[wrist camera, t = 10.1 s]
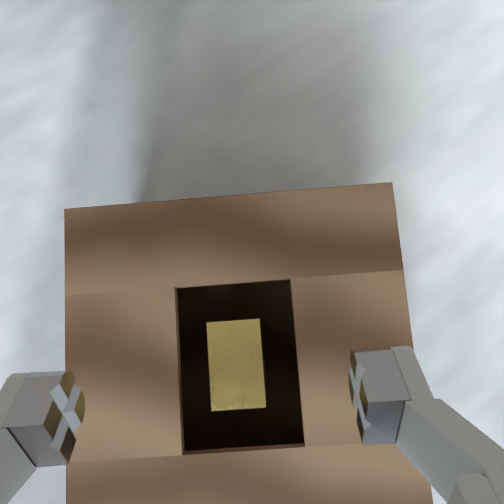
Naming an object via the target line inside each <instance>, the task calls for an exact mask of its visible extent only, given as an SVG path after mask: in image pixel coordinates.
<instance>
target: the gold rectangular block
mask: <svg viewBox="0 0 504 504" xmlns="http://www.w3.org/2000/svg"><path fill="white" fill-rule="evenodd" d="M206 324H207V341H208V359H209V376H210V394H211V411H222V410H236V409H251V408H265V407H266V397H267V373H266V360H265V347H264V333H263V320H262V318H261V319H247V320H234V321H220V322H207V323H206Z"/></svg>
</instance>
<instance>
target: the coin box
mask: <svg viewBox="0 0 504 504" xmlns="http://www.w3.org/2000/svg"><path fill="white" fill-rule="evenodd" d="M64 218H65V371H72V373H73V375H74V376H75V378H76V380H75V382H74V385H75V386H77V387H78V388H80V389H81V390H82V392H83V394H84V398H85V414H84V418H83V421H82V424H81V425H80V426H79V427H78V428H77V429H76V430H75V431H74V432H73V433H74V436H75V438H76V443H75V446H74V449H73V452H72V455H71V458H70V461H69V464H68V465H66V504H433V499H432V491H431V484H430V483H429V482H428V481H427V480H426V479H425V477H424V476H423V475H422V474H421V473H420V472H419V471H418V470H417V469H416V467H415V466H414V465H413V464H412V463H411V462H410V461H409V460H408V459H407V457H406V456H405V455H404V454H403V453H402V452H401V451H400V450H399V449H398V447H397V446H396V444H378V445H362V442H361V438H360V434H359V430H358V426H357V422H356V420H357V409H356V408H355V407H353V405H352V401H351V397H350V391H349V379H348V378H349V370H350V369H351V368H352V366H351V362H350V353H351V350H355V349H366V348H378V347H396V346H410V347H411V348H412V349H413V342H412V334H411V327H410V319H409V311H408V303H407V295H406V287H405V279H404V272H403V264H402V256H401V248H400V240H399V232H398V225H397V217H396V209H395V201H394V193H393V185H392V182H389V183H377V184H365V185H352V186H340V187H328V188H315V189H303V190H291V191H279V192H266V193H254V194H242V195H230V196H217V197H205V198H193V199H181V200H168V201H156V202H144V203H131V204H119V205H107V206H95V207H82V208H70V209H64ZM261 318H262V320H263V333H264V347H265V360H266V373H267V397H266V407H265V408H251V409H236V410H222V411H211V394H210V376H209V359H208V341H207V324H206V323H207V322H220V321H234V320H247V319H261ZM413 351H414V350H413Z"/></svg>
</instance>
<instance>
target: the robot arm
mask: <svg viewBox="0 0 504 504" xmlns="http://www.w3.org/2000/svg"><path fill="white" fill-rule="evenodd" d="M350 362H351V366H352V368H351V369H350V370H349V378H348V379H349V391H350V397H351V401H352V405H353V407H355V408H356V409H357V420H356V422H357V426H358V430H359V434H360V438H361V442H362V445H378V444H396V446H397V447H398V449H399V450H400V451H401V452H402V453H403V454H404V455H405V456H406V457H407V459H408V460H409V461H410V462H411V463H412V464H413V465H414V466H415V467H416V469H417V470H418V471H419V472H420V473H421V474H422V475H423V476H424V477H425V479H426V480H427V481H428V482H429V483H430V484H431V485H432V486H433V488H434V489H435V490H436V491H437V492H438V493H439V494H440V495H441V496H442V498H443V499H444V500H445V501H446V502H447V504H504V449H503V448H502V447H500V446H499V445H498V444H497V443H495V442H494V441H493V440H491V439H490V438H489V437H488V436H486V435H485V434H484V433H483V432H481V431H480V430H479V429H478V428H476V427H475V426H474V425H473V424H471V423H470V422H469V421H468V420H466V419H465V418H464V417H463V416H461V415H460V414H459V413H457V412H456V411H455V410H454V409H452V408H451V407H450V406H449V405H447V404H446V403H445V402H444V401H442V400H441V399H434V397H433V395H432V393H431V390H430V388H429V386H428V383H427V381H426V379H425V376H424V374H423V372H422V369H421V367H420V365H419V363H418V360H417V358H416V356H415V353H414V351H413V349H412V348H411V347H410V346H396V347H378V348H366V349H355V350H351V353H350ZM75 380H76V378H75V376H74V375H73V373H72V371H53V372H31V373H15V374H12V375H11V376H9V377H8V378H7V379H6V381H5V383H4V385H3V387H2V389H1V391H0V504H7V503H8V502H9V501H10V500H11V499H12V497H13V496H14V495H15V494H16V493H17V492H18V490H19V489H20V488H21V487H22V486H23V484H24V483H25V482H26V481H27V480H28V479H29V477H30V476H31V475H32V474H33V473H34V472H35V470H36V468H37V467H47V466H58V465H68V464H69V461H70V458H71V455H72V452H73V449H74V446H75V443H76V438H75V436H74V433H73V432H74V431H75V430H76V429H77V428H78V427H79V426H80V425H81V424H82V421H83V418H84V414H85V398H84V394H83V392H82V390H81V389H80V388H78V387H77V386H75V385H74V382H75Z"/></svg>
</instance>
